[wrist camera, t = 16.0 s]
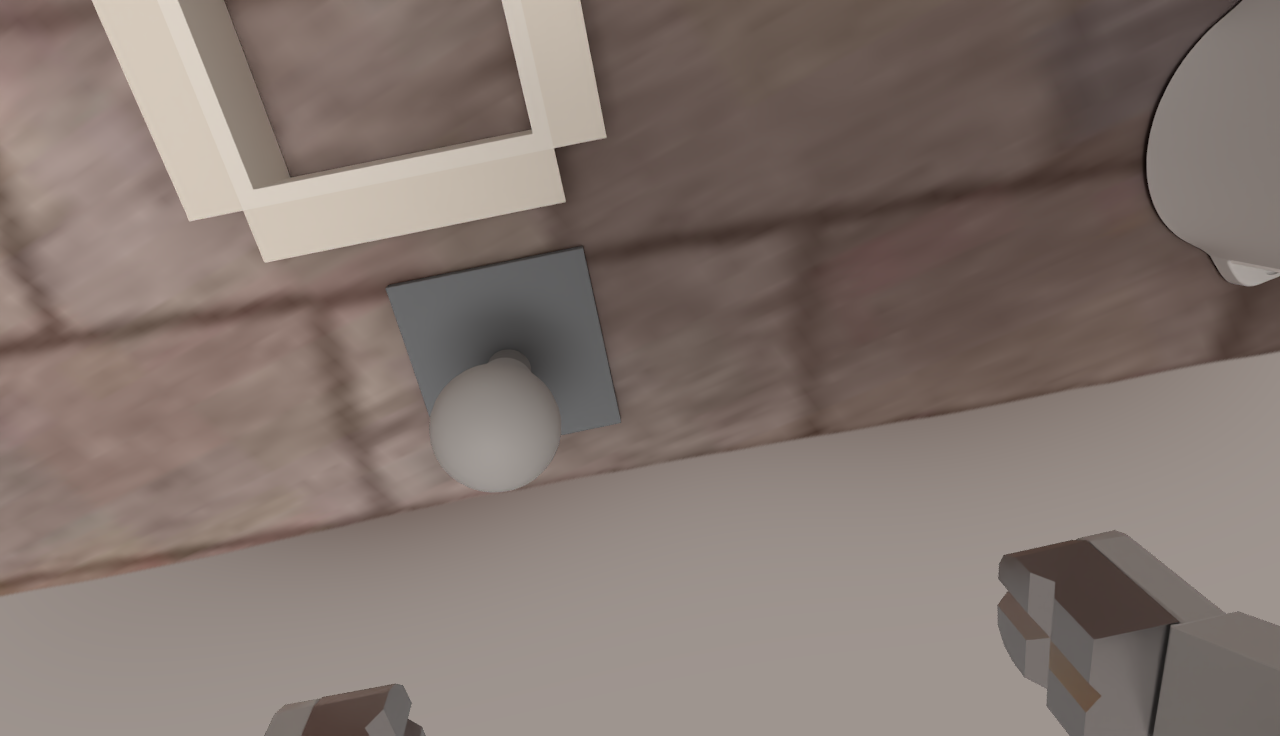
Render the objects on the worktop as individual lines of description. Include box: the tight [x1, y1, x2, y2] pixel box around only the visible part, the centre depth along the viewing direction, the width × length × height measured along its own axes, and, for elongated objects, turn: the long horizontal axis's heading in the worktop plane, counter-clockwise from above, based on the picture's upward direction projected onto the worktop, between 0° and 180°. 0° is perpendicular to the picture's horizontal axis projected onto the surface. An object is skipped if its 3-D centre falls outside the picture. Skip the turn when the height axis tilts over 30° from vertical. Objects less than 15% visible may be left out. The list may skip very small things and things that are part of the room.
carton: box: [92, 0, 607, 263], centre depth 31 cm, size 20×20×4 cm
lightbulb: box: [429, 349, 561, 492], centre depth 35 cm, size 6×6×11 cm
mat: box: [386, 246, 621, 435], centre depth 40 cm, size 11×11×1 cm
